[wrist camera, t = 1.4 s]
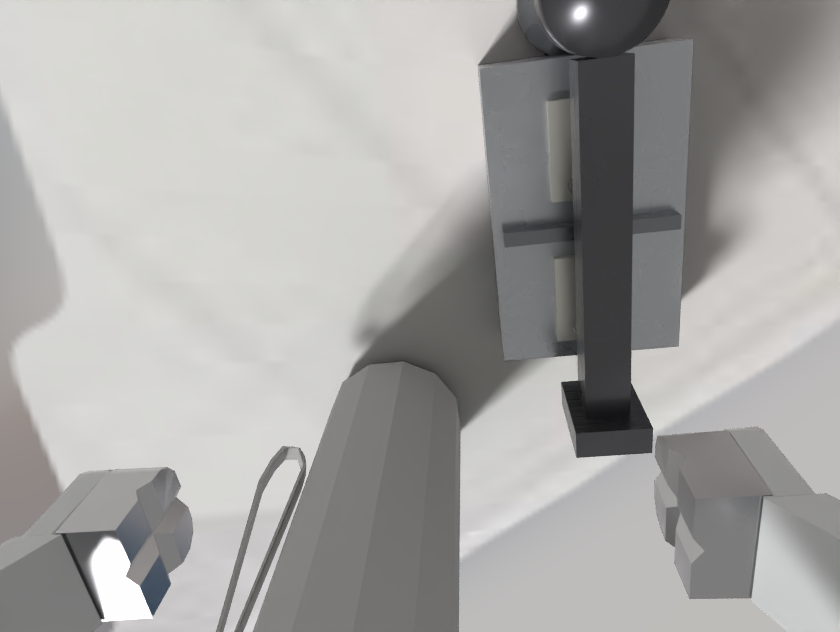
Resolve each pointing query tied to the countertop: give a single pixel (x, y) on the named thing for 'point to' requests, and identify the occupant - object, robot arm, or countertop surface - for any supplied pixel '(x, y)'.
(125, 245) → the countertop surface
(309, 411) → the countertop surface
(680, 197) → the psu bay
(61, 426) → the countertop surface
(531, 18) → the grey round knob
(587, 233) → the bar
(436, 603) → the water bottle
